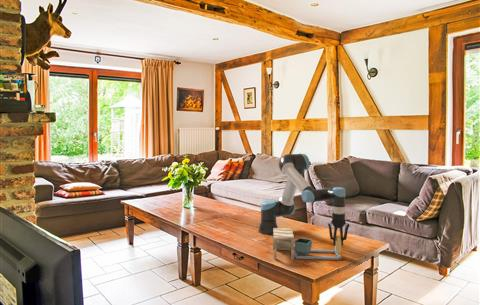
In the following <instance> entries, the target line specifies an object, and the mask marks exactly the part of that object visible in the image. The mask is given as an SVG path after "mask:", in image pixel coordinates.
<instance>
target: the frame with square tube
mask: <svg viewBox="0 0 480 305" xmlns="http://www.w3.org/2000/svg"><path fill="white" fill-rule="evenodd" d="M336 240H337V251H335V249H312V248H311V250H310V252H309V253H329V254H331V253H334V254H335V255H336V256H324V255H323V256H320V255H318V256H317V255H307V256H301V255H298V254H297V252H296V250H295V245H294V260H296V259H298V260H299V259H303V260H335V261H337V260H338V261H341V260H342V255H341V252H340V249H341V250H342V246H341V238H340V234H339V235H338V234H336Z"/></svg>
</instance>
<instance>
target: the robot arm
mask: <svg viewBox="0 0 480 305" xmlns="http://www.w3.org/2000/svg"><path fill="white" fill-rule="evenodd" d="M310 164H311V163H310V158H309V156H308V155H307V154H305V153H291V154H290V153H288V154H284V155H283V156H281V157H280V159H279V161H278V168H279V170H280V172H281V173H282V174H283V175H286V177H287V179H286V181H285V185H284V186H285V187H284V189H283V192H282V194H281V195H282V196H280V197H279V198H278V201H277V200H275V199H268V200H267V199H266V200H263V201H262V202H261V203H260V223H259V226H258V233H260V234H265V235H273V228H279V225H278V222H277V218H280V217H281V218H282V217H289V216H292V215H293V214H294V213H295V211H296V204H295V201H294V198H295V195H296V192H297V191H296V190H297V189H298V192H300V193H301V200H302V202H304V203H311V204H312V203H315V202H317V203H318V202H325V201H326V202H328V201H329V202H331V203H332V204H331V205H332V208H331V209H332V210H331V212H332V213H331V214H332V217H331V221H330V222H327V226H328V230H329V231H328V232H329V238H330V240H332V245H333V246H334V250H335V251H337V240H336V235H338V234H337V233H338V232H337V231H338V229H339V236H340V238H341V247H342V246H344V241H345V240H347V239H348V238H347V236H348V233H349V232H348V231H349V227H350V224H349V223H347V222H346V214H345V213H346V189H345V188H344V187H343V186H342V187H339V186H334V187H333V188H328V187H321V188H320V189H319V188H317V189H314V187H312V186H311V184H309V182H308V180H306V179H305V178H304V177H303V175H304V173H305V171H307V170H308V169H309V168H310ZM332 226H333V229H332ZM343 228H344V231H343ZM341 252H342V248H341V249H340V253H341Z"/></svg>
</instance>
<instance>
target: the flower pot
mask: <svg viewBox="0 0 480 305" xmlns="http://www.w3.org/2000/svg"><path fill="white" fill-rule="evenodd" d="M312 244H313V239H308V238H303V237H299V238H296V240H294V246H295V250H296V254H297V256H309V254H310V253H311V252H310V250H311V249H312V246H313V245H312Z"/></svg>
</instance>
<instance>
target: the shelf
mask: <svg viewBox="0 0 480 305" xmlns="http://www.w3.org/2000/svg"><path fill="white" fill-rule="evenodd" d="M272 240H273V241H272V249H273V260H275V261H276V260H277V256H278V255H277V251H290V260H291V261H295V258H294V246H295V245H294V241H295V237H294V232H293V228H282V227H280V228H279V227H278V228H273V234H272Z"/></svg>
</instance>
